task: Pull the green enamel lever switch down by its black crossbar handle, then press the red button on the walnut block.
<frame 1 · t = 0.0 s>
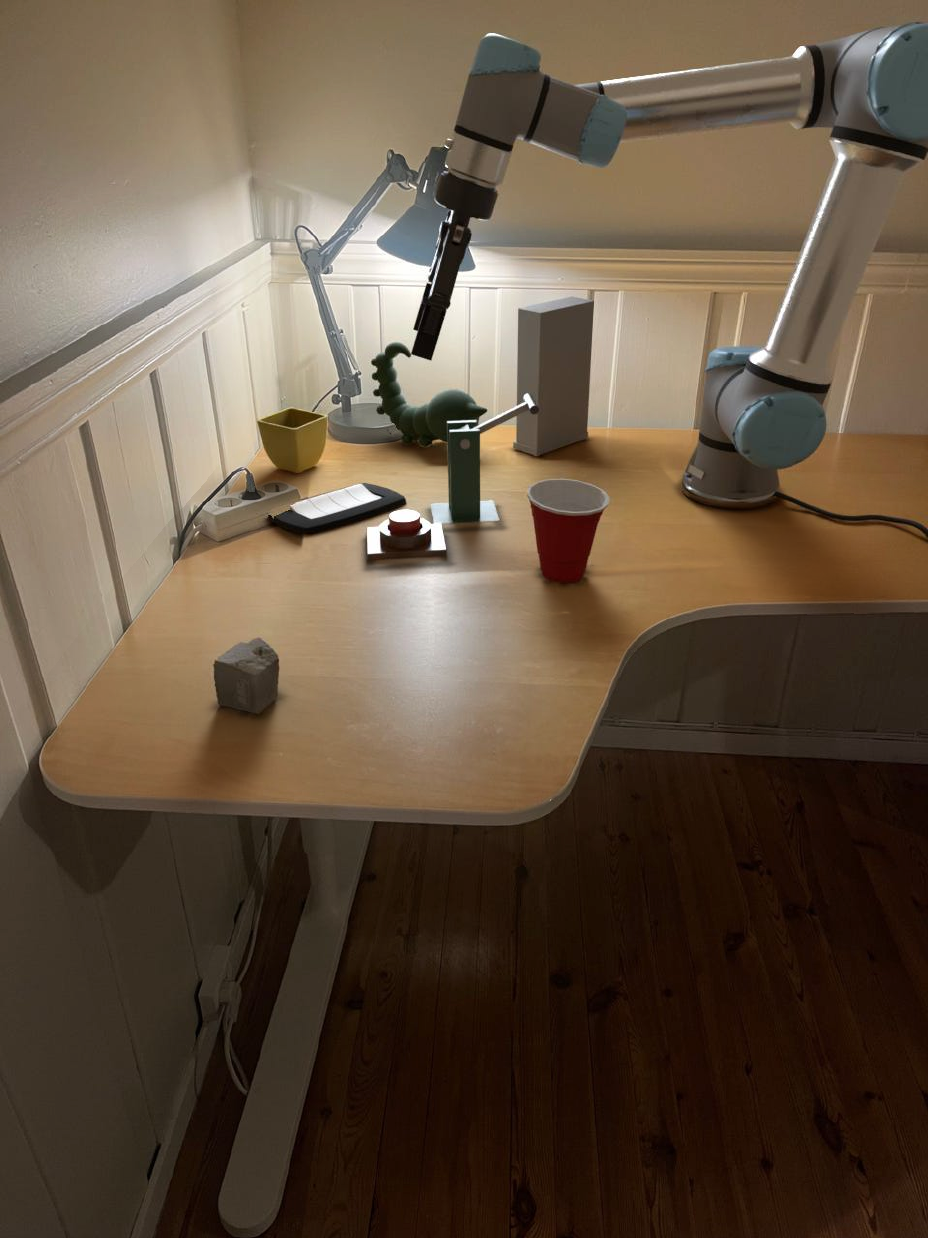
hand: (421, 344, 127), 28 cm above the table, tool tilted 20°, fingers open, 13 cm apart
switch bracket: (464, 518, 145), on the table
button: (404, 522, 133), point 5 cm above the table, slide at 0.1 cm
flower pot: (297, 468, 165), on the table
switch lever: (494, 421, 138), point 15 cm above the table, hinge at 25.0°
plastic cup: (564, 575, 128), on the table
tall grey upright slab: (550, 445, 174), on the table
toy figurine: (431, 445, 174), on the table
button block: (406, 551, 135), on the table
light switch: (337, 514, 147), on the table
mineral specimen: (255, 706, 102), on the table
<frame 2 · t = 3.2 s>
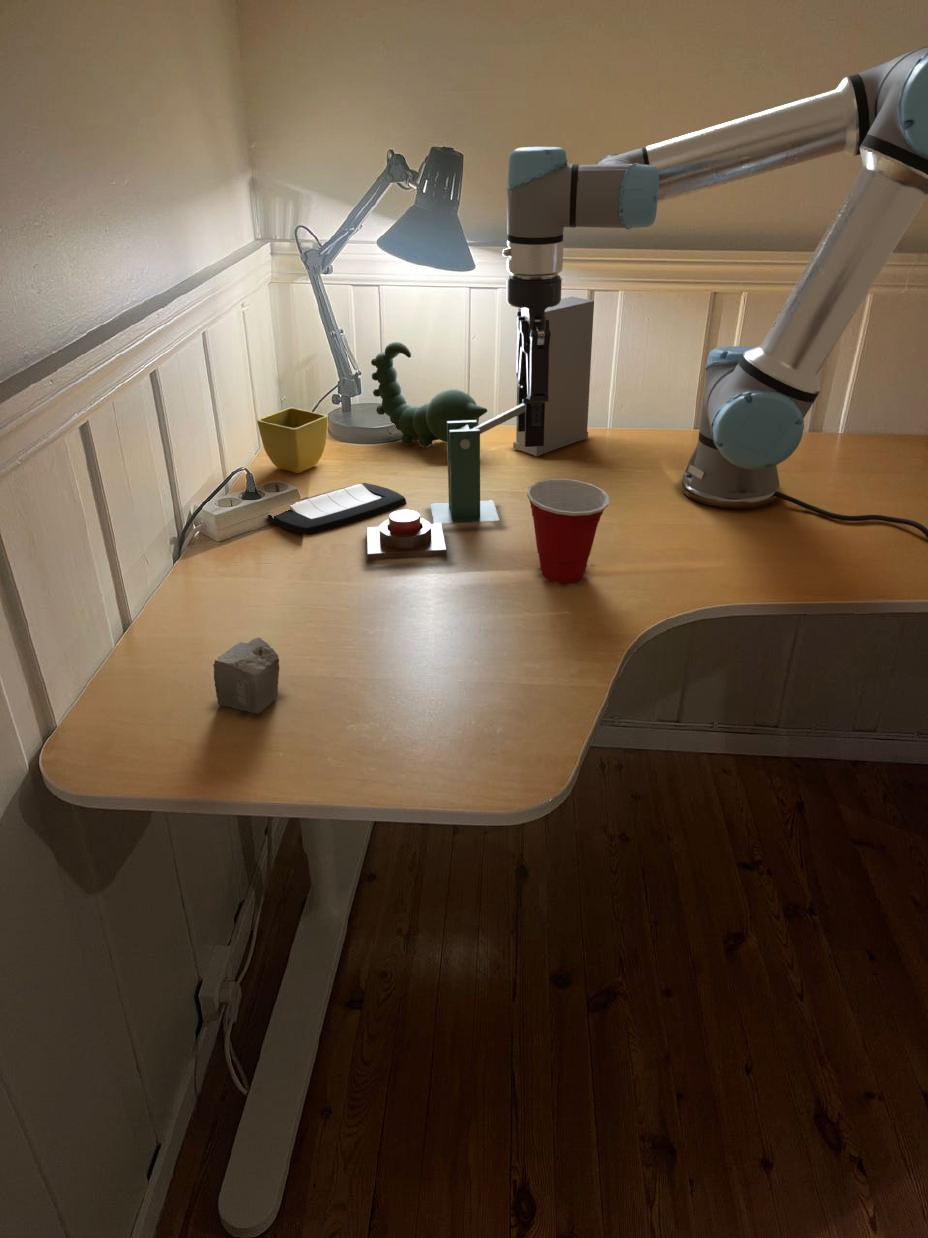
hand: (530, 437, 139), 13 cm above the table, tool pointing down, fingers closed on switch lever, 6 cm apart
switch lever: (494, 421, 138), point 15 cm above the table, hinge at 25.0°, touching gripper
everything else where it was.
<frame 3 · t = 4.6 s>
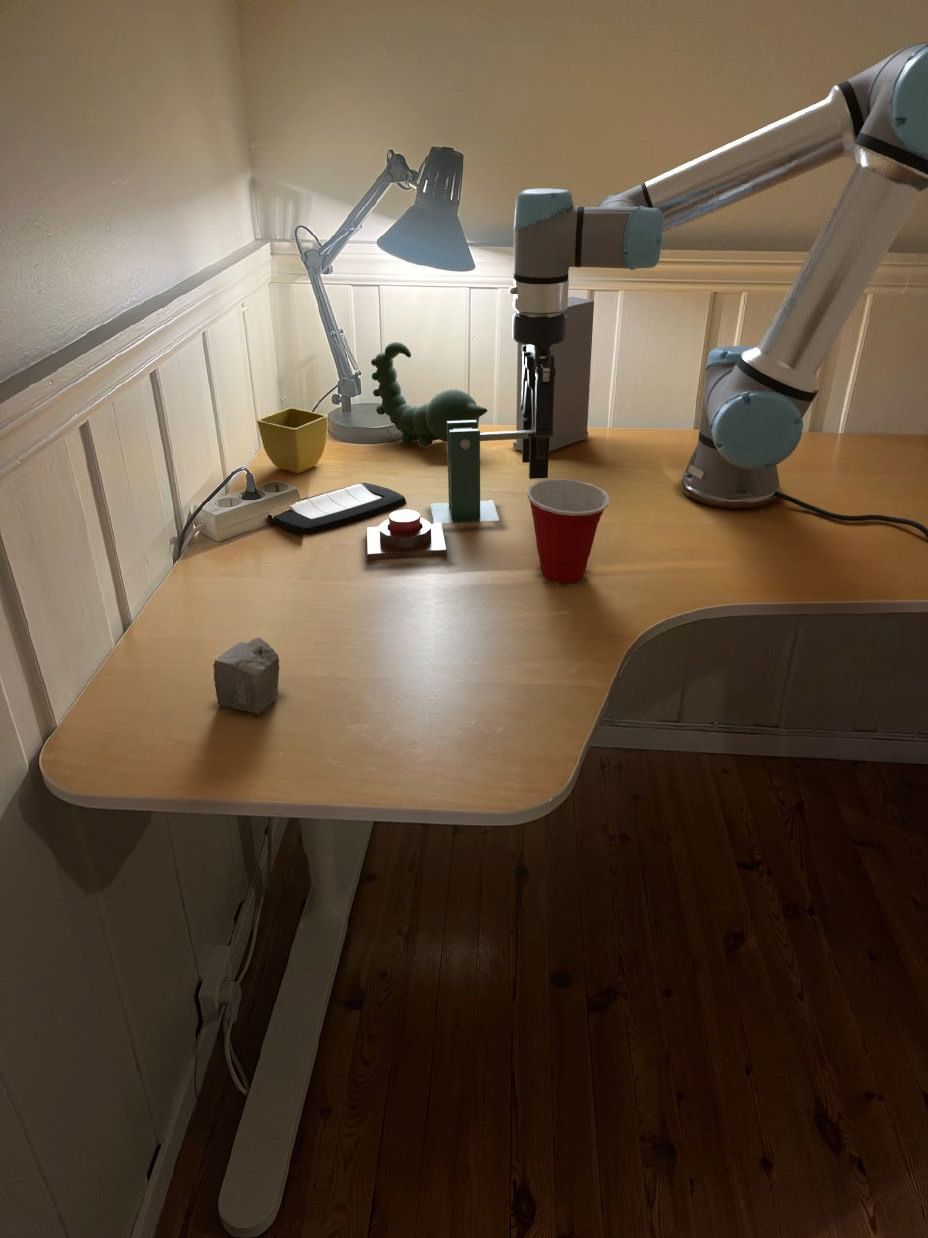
hand: (534, 469, 142), 8 cm above the table, tool pointing down, fingers closed on switch lever, 6 cm apart
switch lever: (497, 435, 139), point 13 cm above the table, hinge at 0.3°, touching gripper
everything else where it was.
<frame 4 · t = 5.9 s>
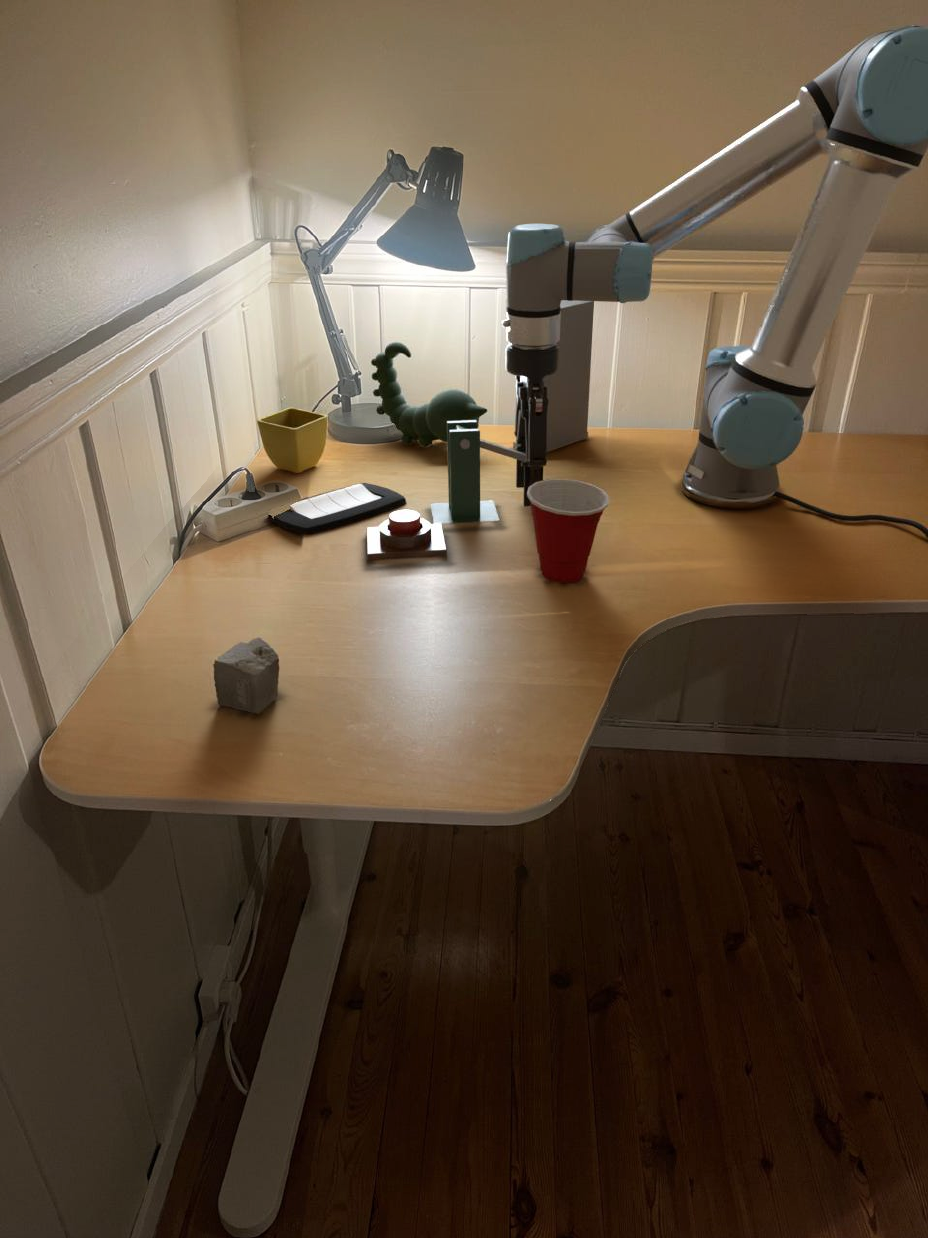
hand: (528, 495, 144), 3 cm above the table, tool pointing down, fingers open, 7 cm apart
switch lever: (495, 448, 140), point 11 cm above the table, hinge at -21.1°
everything else where it was.
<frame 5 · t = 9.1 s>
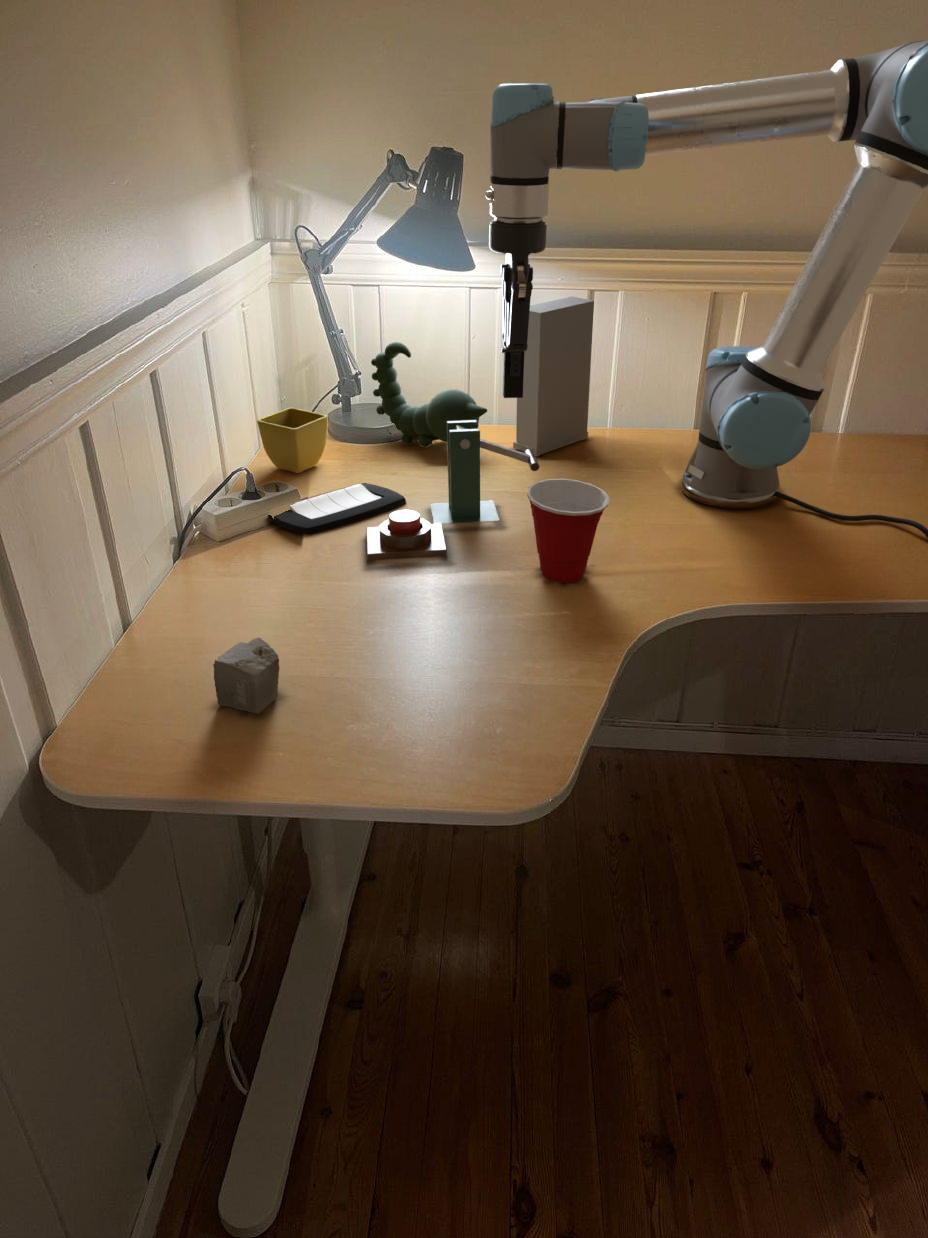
hand: (512, 396, 135), 19 cm above the table, tool pointing down, fingers closed
nothing on the table moved.
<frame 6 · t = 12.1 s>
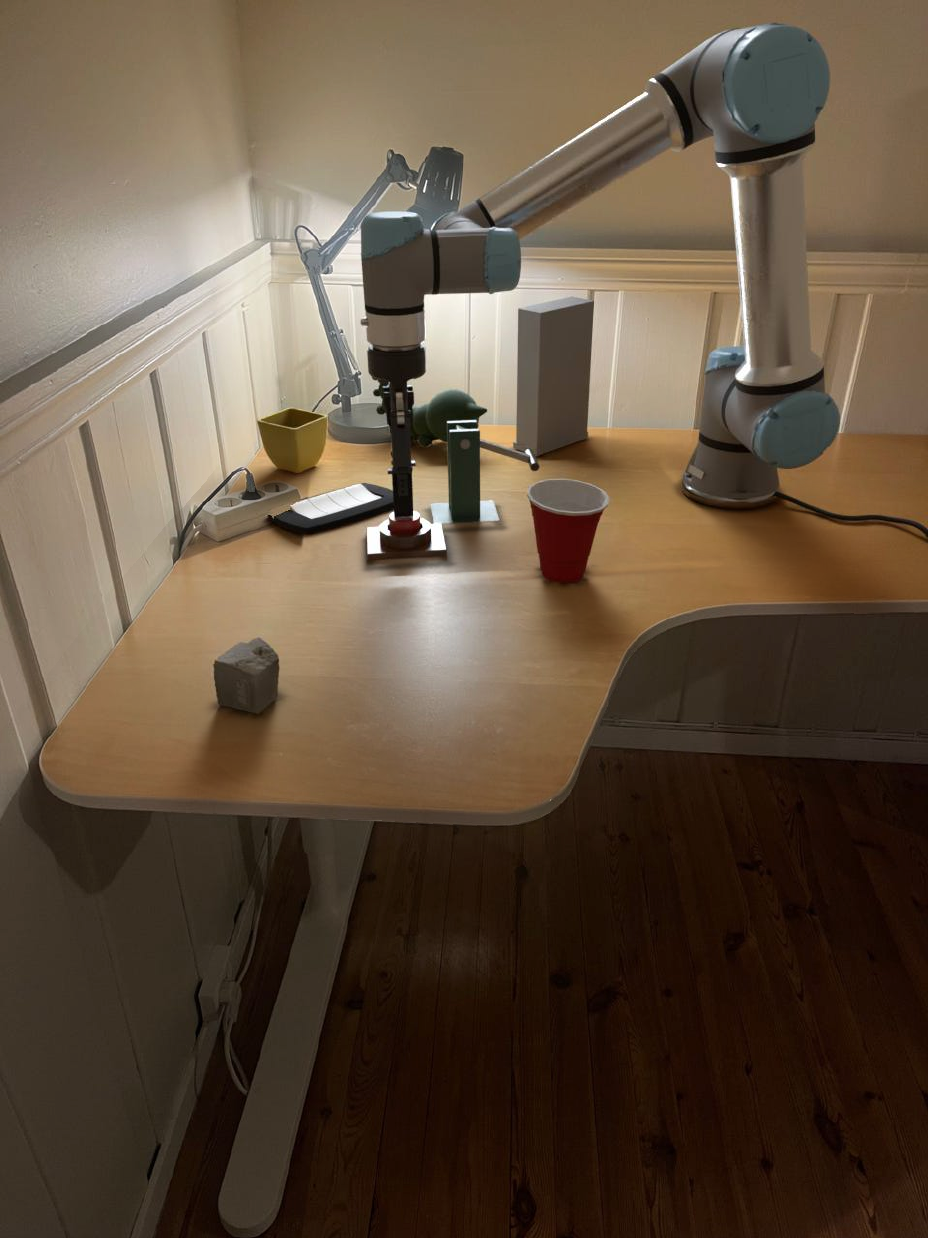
hand: (403, 514, 132), 6 cm above the table, tool pointing down, fingers closed
button: (404, 522, 133), point 5 cm above the table, slide at 0.1 cm, touching gripper
everything else where it was.
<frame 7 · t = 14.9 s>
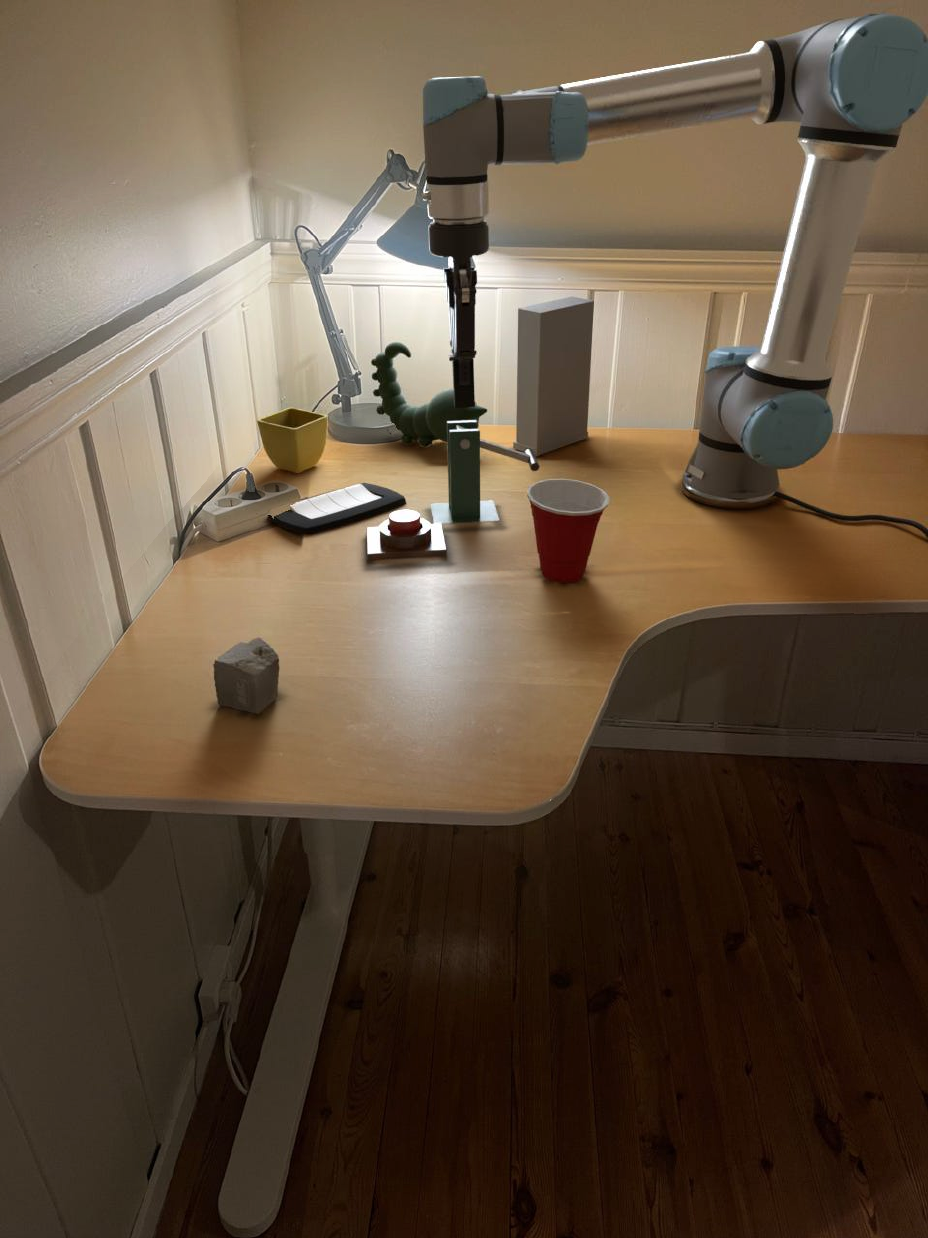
hand: (464, 405, 128), 20 cm above the table, tool pointing down, fingers closed
button: (404, 522, 133), point 5 cm above the table, slide at 0.1 cm
everything else where it was.
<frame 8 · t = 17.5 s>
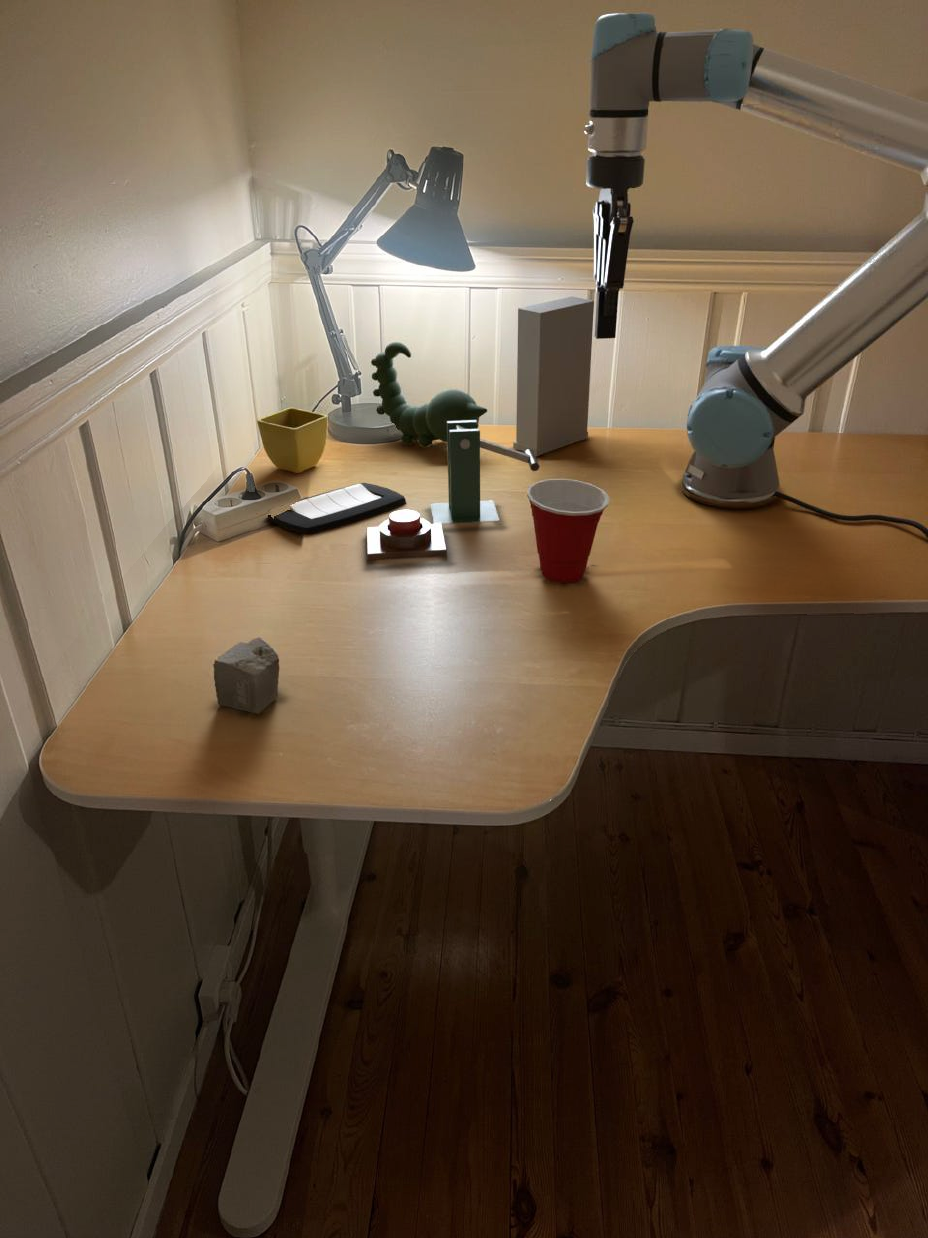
hand: (604, 336, 135), 26 cm above the table, tool pointing down, fingers closed
nothing on the table moved.
at the end: switch lever at -21° (first picture: +25°); button pushed in 1.0 cm at the most during the clip, back to where it started at the end; button slide at 0.1 cm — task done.
